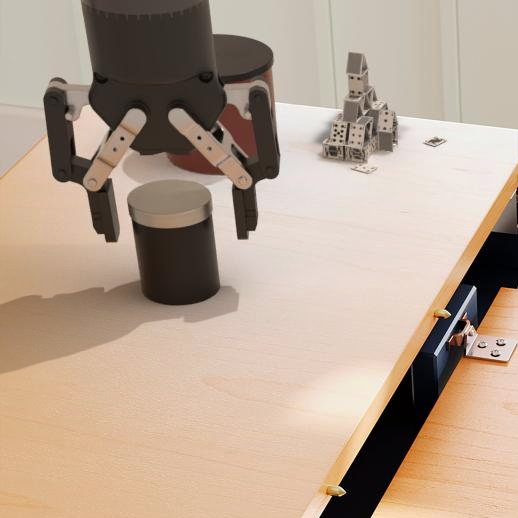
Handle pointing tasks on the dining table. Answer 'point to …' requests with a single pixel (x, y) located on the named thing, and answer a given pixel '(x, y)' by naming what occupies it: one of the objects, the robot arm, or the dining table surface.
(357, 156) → the house of cards
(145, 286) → the black lidded canister
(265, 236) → the dining table surface
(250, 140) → the tin
